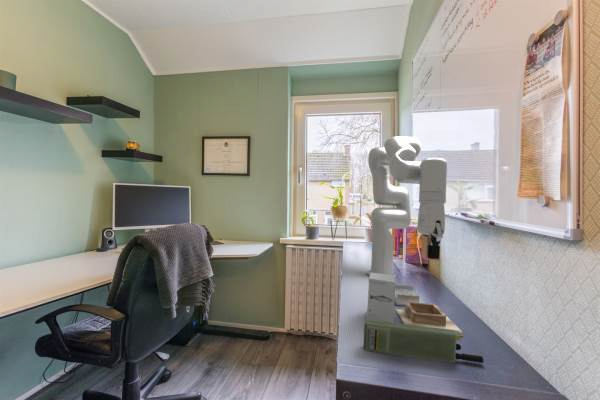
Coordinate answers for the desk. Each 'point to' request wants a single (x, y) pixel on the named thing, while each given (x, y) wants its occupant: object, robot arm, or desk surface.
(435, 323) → the socket board
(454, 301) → the desk surface
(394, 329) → the handheld radio
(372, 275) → the supplement box
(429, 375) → the desk surface
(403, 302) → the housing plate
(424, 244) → the block
